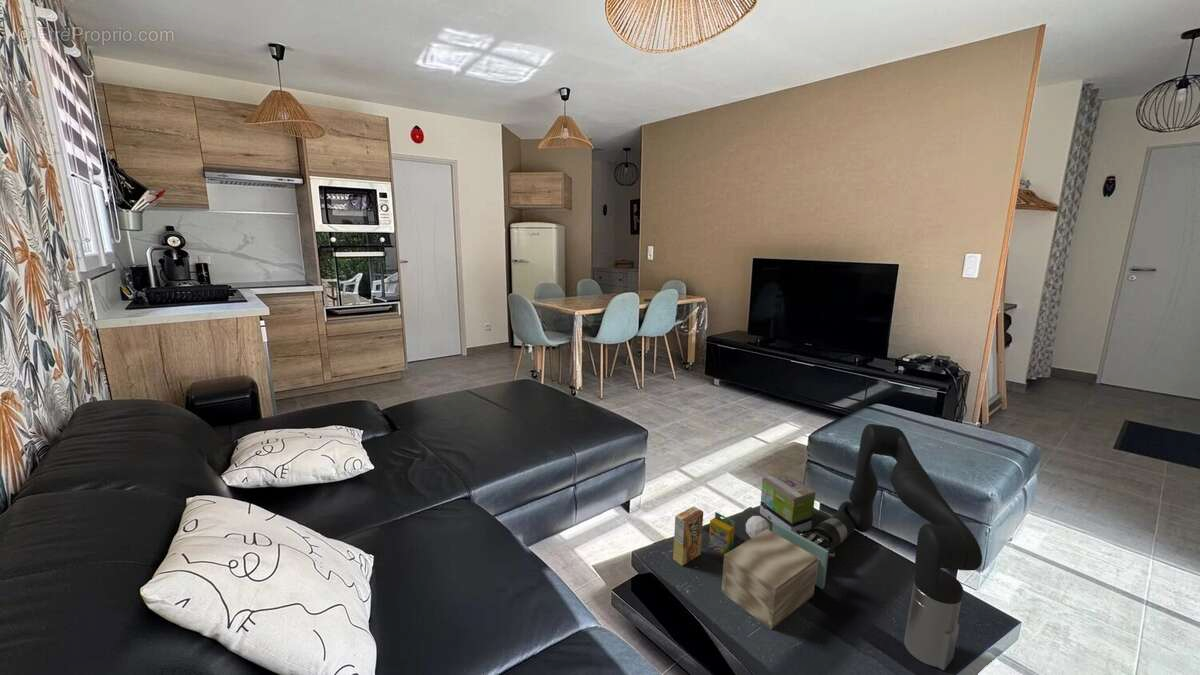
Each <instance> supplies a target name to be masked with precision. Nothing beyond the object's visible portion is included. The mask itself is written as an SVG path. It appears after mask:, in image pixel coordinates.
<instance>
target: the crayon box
mask: <svg viewBox="0 0 1200 675" xmlns="http://www.w3.org/2000/svg"><path fill="white" fill-rule="evenodd" d="M714 513H715V514H714V517H713V518H711V519H710V521H709V533H708V534H709V536H708V548H711V549H712V550H713V551H716V552H717V553H719V554H721V555H722V556H724V554H726V553H728V552H729V551H731V550H733V549H734V539H735V524H736V522H735V521H734V520H733V519H731V518H728V517H726V516H724V515H722V514H721V513H719V512H717V511H715V512H714ZM724 519H725V520H724ZM726 520H727V521H726Z"/></svg>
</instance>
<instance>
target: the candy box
mask: <svg viewBox="0 0 1200 675" xmlns="http://www.w3.org/2000/svg"><path fill="white" fill-rule="evenodd" d="M703 522H704V511H703V510H701V509H700V508H698V507H697V506H694V505H693V506H692V507H689V508H688V509H685V510H684V511H682V512H680V513H678V514H677V515H675V516H674V533H673V534H674V536H673V552H672V553H673V554H672V555H673V556H672V560H673V561H674V562H676V563H678V564H679V565H680V566H684V565H686V564H688V563H689V562H690V561H693V560H694V559H696V558H697V557H699V556H700V555H701V554H702V553H701V552H702V538H703V537H702V536H703V524H704V523H703Z"/></svg>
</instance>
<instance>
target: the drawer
mask: <svg viewBox="0 0 1200 675" xmlns="http://www.w3.org/2000/svg"><path fill="white" fill-rule="evenodd" d="M771 527H772V528H771V531H772V532H774V533H775V534H777V535H779V536H781V537H782V538H784V539H786V540H788V541H789V542H791V543H793V544H795V545H797V546H798V547H800V548H802V549H804V550H805V551H807V552H809V553H811V554H812V555H814V556H816V557H818V562H817V571H816V579H815V586H816V587H818V588H819V589H821V590H823V589H824V588H825V584H826V577H827V570H828V560H829V558H828V554H829V551H828V550H826V549H824V548H823V547H821V546H819V545H817V544H815V543H813V542H812V541H810V540H808V539H806V538H804V537H802V536H801V535H799V534H797V533H795V532H793V531H791V530H789V529H788V528H786V527H784V526H782V525H780V524H778V523H777V522H774V523H773V522H772V526H771Z"/></svg>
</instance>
